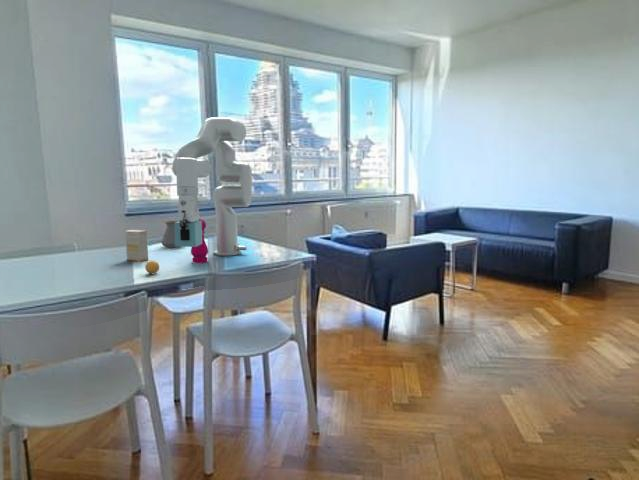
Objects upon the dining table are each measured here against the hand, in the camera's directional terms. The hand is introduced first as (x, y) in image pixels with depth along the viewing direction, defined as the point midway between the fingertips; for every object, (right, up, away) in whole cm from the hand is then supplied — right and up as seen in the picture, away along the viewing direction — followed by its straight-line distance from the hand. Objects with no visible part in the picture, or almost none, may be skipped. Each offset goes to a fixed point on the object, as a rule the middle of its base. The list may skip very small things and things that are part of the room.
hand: (189, 238), depth 173 cm
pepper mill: (-2, -10, +26) cm, 28 cm away
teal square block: (0, -2, 0) cm, 3 cm away
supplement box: (-30, -10, +28) cm, 43 cm away
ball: (-15, -11, +3) cm, 19 cm away
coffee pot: (-22, -5, +57) cm, 61 cm away
